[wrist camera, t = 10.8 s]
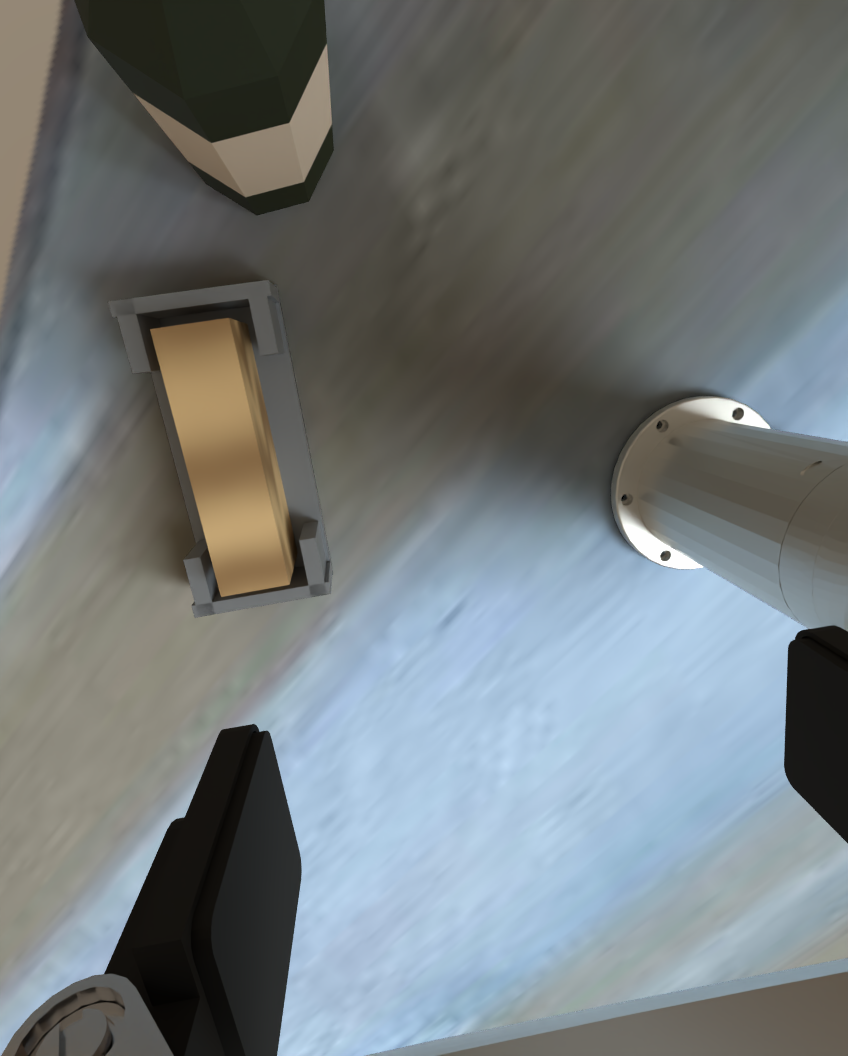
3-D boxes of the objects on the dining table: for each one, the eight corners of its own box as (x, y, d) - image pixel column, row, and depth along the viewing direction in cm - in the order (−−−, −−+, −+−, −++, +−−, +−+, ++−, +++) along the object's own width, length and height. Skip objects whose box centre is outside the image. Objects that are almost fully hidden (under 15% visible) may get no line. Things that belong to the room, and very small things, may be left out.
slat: (181, 333, 36) (149, 329, 31) (247, 323, 37) (228, 317, 31) (238, 563, 41) (221, 597, 35) (297, 552, 41) (289, 584, 35)
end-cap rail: (135, 304, 36) (106, 297, 32) (277, 285, 37) (267, 275, 32) (211, 592, 42) (195, 620, 37) (333, 571, 42) (331, 596, 38)
